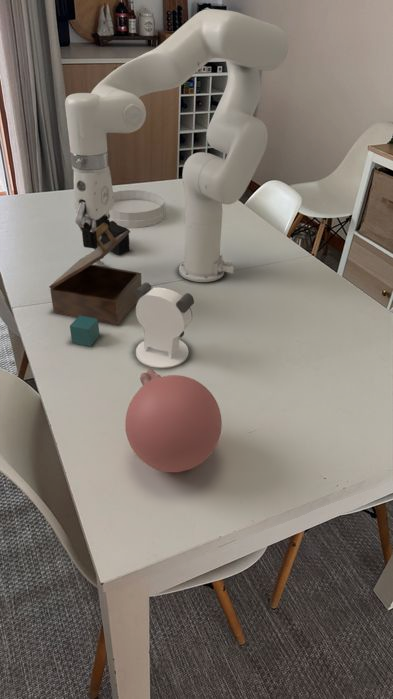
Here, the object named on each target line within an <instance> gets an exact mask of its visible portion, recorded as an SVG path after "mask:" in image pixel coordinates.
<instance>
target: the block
mask: <svg viewBox="0 0 393 699" xmlns="http://www.w3.org/2000/svg"><path fill="white" fill-rule="evenodd" d="M69 329H70V330H69V331H70V338H71V343H72V344H77V345H81V346H86V347H92V345H93V344H94V343H95V342H96V341H97V340H98V338H99V337H100V326H99V322H98V319H95V318H90V317H85V316H80V315H79V316H78V317H76V318H75V319H74V320H73V321H72V322H71V324H70V325H69Z"/></svg>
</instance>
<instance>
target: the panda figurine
mask: <svg viewBox="0 0 393 699" xmlns="http://www.w3.org/2000/svg"><path fill="white" fill-rule="evenodd" d="M135 296H136V297H137V298H139V299H138V300H137V302H136V306H135V315H136V319H137V321H138V323H139V324H140V326H141V327H142V328H143V340H142V341H141V342H139V343H138V345H137V346H136V348H135V356H136V358H137V360H138V361H139V362H140V363H141V364H143V365H145V366H147V367H150V368H154V369H170V368H174V367H177V366H179V365H181V364H182V363H184V362H185V361H186V360H187V358H188V357H189V347H188V345H187V344H186V343H185V342H184V341H182V340H180V338H182V337H183V336H184V335H185V330H186V329H187V327H188V326H189V325H190V324H191V322H192V320H193V311H192V308H191V307H192V306H193V305H194V304H195V298H194V296H193V295H192V294H191V293H189V292H187V293H184V294H183V295H181V294H180V293H178V292H177V291H174V290H172V289H169V288H165V287H157V286H155V287H152V285H151V283H149V282H144V283H143V284H142V286H140V287H139V288H138V289H137V290H136V291H135Z"/></svg>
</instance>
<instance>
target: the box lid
mask: <svg viewBox="0 0 393 699" xmlns="http://www.w3.org/2000/svg"><path fill="white" fill-rule="evenodd" d="M94 231H96V235H97V244H98V245H99V246H100V247H99V248H98V249H96V250H93V251H91V252H90V253H88V254H87V255H85V256H83V257H82V258H80V259H79V260H78V261H76V263H74V264H73V265H72V266H70V268H69V269H68V270H66V271H65V272H64V273H62V275H61V276H59V277H58V278H57V279H56V280H55V281H53V283H51V284H50V285H49V286H48V287H49V289H52V288H54V287H55V286H57V285H59V284H60V283H62V282H64V281H65V280H67V279H69V278H70V277H72V276H74V275H75V274H77V273H79V272H80V271H82V270H84V269H85V268H87V267H89V266H90V265H92V264H94V263H95V262H97V261H99V260H100V261H101V260H102V259H104V257H106V256H107V255H108V254H109V253H110V251H111V250H112V249H113V248H114V247H115V246H116V245H117V244H118V243H119V242H120V241H121V240H122V239H123V238H125V237H126V236H127V235H128V234H129V235H130V233H131V230H130V229H129V230H127V231H125V232H124V233H122V234H121V235H119V236H117V237H116V238H114V237H113V236H112V234H111V233H110V231H109V230H108V225H107V224H106V223H102V224H101V225H100V226H98V227H97V228H96V229H95V230H94ZM104 232H105V233H106V234H107V236H108V237H109V238H110V240H111V241H109V242H108V243H106V244H104V245H103V243H102V242H101V241H100V239H99V238H98V237H100V236H101V235H102V234H103V233H104Z"/></svg>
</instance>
